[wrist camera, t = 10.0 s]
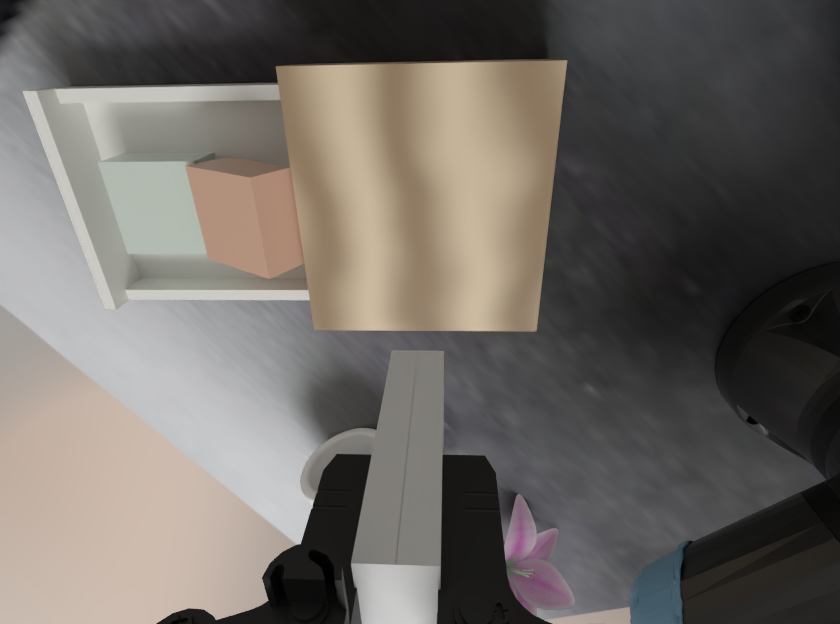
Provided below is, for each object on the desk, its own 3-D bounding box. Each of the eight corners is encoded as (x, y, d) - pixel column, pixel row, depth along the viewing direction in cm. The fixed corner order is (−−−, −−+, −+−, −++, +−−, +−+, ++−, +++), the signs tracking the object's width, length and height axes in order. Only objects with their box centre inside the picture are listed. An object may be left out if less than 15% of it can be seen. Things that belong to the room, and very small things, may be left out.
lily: (561, 559, 53) (615, 618, 43) (468, 614, 51) (502, 688, 41) (523, 465, 51) (569, 504, 42) (424, 517, 49) (450, 571, 40)
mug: (354, 507, 49) (339, 584, 42) (312, 437, 44) (287, 510, 37) (467, 484, 46) (472, 561, 39) (435, 407, 42) (433, 479, 35)
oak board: (548, 58, 29) (567, 60, 24) (525, 297, 36) (536, 331, 32) (300, 63, 29) (275, 66, 25) (329, 297, 37) (314, 330, 33)
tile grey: (97, 162, 29) (126, 152, 32) (127, 253, 32) (151, 238, 35) (193, 161, 29) (214, 152, 32) (215, 254, 32) (232, 238, 34)
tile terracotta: (292, 166, 28) (250, 177, 26) (306, 262, 31) (269, 279, 28) (227, 157, 31) (185, 165, 29) (245, 244, 34) (208, 258, 31)
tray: (303, 82, 30) (284, 86, 26) (328, 285, 36) (315, 310, 33) (70, 86, 30) (22, 91, 27) (137, 284, 37) (105, 309, 34)
